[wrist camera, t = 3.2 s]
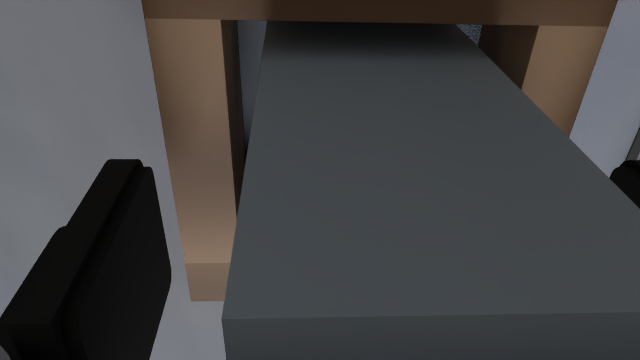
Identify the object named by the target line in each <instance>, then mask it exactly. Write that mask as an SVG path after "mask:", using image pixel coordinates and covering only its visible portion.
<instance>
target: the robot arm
mask: <svg viewBox="0 0 640 360" xmlns="http://www.w3.org/2000/svg"><path fill="white" fill-rule="evenodd" d="M609 179H610V180H611V181H612V182H613V183H614V184H615V185H616V186H617V187H618V188H619V189H620V190H621V191H622V192H623V193H624V194H625V195H626V196H627V197H628V198H629V199H630V200H631V201H632V202H633V203H634V204H635V205H636V206H637V207H638V208H639V209H640V160H627V161H624V162H623V163H622V164H621V165H620V167H617V168H615V169H614V170H613V172H612V173H611V176H610V178H609ZM170 284H171V266H170V260H169V255H168V249H167V244H166V239H165V233H164V228H163V222H162V217H161V212H160V206H159V201H158V195H157V190H156V185H155V179H154V174H153V170H152V168H151V167H143V164H142V162H141V161H140V160H139V159H110V160H107V162H106V163H105V164H104V166H103V168H102V169H101V171H100V172H99V174H98V176H97V177H96V179H95V180H94V182H93V184H92V185H91V187H90V188H89V190H88V192H87V193H86V195H85V197H84V198H83V200H82V201H81V203H80V205H79V206H78V208H77V209H76V211H75V213H74V214H73V216H72V217H71V219H70V221H69V222H68V224H67V225H66V226H63V227H61V228H59V229H58V230H57V231H56V232H55V233H54V235H53V236H52V238H51V239H50V241H49V242H48V244H47V246H46V247H45V249H44V250H43V252H42V253H41V255H40V256H39V258H38V260H37V261H36V263H35V264H34V266H33V267H32V269H31V270H30V272H29V274H28V275H27V277H26V278H25V280H24V281H23V283H22V284H21V286H20V288H19V289H18V291H17V292H16V294H15V295H14V297H13V298H12V300H11V302H10V303H9V305H8V306H7V308H6V309H5V311H4V312H3V314H2V316H1V317H0V360H149V358H150V355H151V351H152V348H153V344H154V341H155V337H156V334H157V330H158V327H159V323H160V320H161V316H162V313H163V309H164V306H165V303H166V299H167V296H168V292H169V289H170Z"/></svg>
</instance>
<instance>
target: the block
mask: <svg viewBox="0 0 640 360" xmlns="http://www.w3.org/2000/svg"><path fill="white" fill-rule="evenodd" d="M222 326H223V335H224V343H225V351H226V360H640V209H639V208H638V207H637V206H636V205H635V204H634V203H633V202H632V201H631V200H630V199H629V198H628V197H627V196H626V195H625V194H624V193H623V192H622V191H621V190H620V189H619V188H618V187H617V186H616V185H615V184H614V183H613V182H612V181H611V180H610V179H609V178H608V177H607V176H606V175H605V174H604V173H603V172H602V171H601V170H600V169H599V168H598V167H597V166H596V165H595V164H594V163H593V162H592V161H591V160H590V159H589V158H588V157H587V156H586V155H585V154H584V153H583V152H582V151H581V150H580V149H579V148H578V147H577V146H576V145H575V144H574V143H573V142H572V141H571V140H570V139H569V138H568V137H567V136H566V135H565V134H564V133H563V132H562V131H561V130H560V129H559V128H558V127H557V126H556V125H555V124H554V123H553V122H552V121H551V120H550V119H549V118H548V117H547V116H546V115H545V114H544V113H543V112H542V111H541V110H540V109H539V108H538V107H537V106H536V105H535V104H534V103H533V102H532V100H531V99H530V98H529V97H528V96H527V95H526V94H525V93H524V92H523V91H522V90H521V89H520V88H519V87H518V86H517V85H516V84H515V83H514V82H513V81H512V80H511V79H510V78H509V77H508V76H507V75H506V74H505V73H504V72H503V71H502V70H501V69H500V68H499V67H498V66H497V65H496V64H495V63H494V62H493V61H492V60H491V59H490V58H489V57H488V56H487V55H486V54H485V53H484V52H483V51H482V50H481V49H480V48H479V47H478V46H477V45H476V44H475V43H474V42H473V41H472V40H471V39H470V38H469V37H468V36H467V35H466V34H465V33H464V32H463V31H462V30H461V29H460V28H459V27H458V26H457V25H456V24H429V23H374V22H318V21H267V27H266V33H265V40H264V46H263V53H262V60H261V66H260V73H259V79H258V86H257V92H256V99H255V105H254V112H253V118H252V125H251V131H250V138H249V144H248V151H247V157H246V164H245V170H244V177H243V183H242V190H241V196H240V203H239V209H238V216H237V222H236V229H235V235H234V242H233V248H232V255H231V261H230V268H229V274H228V281H227V288H226V294H225V301H224V307H223V314H222Z"/></svg>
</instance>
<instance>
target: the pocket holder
mask: <svg viewBox="0 0 640 360" xmlns="http://www.w3.org/2000/svg"><path fill="white" fill-rule="evenodd" d="M141 1H142V7H143V13H144V19H145V25H146V31H147V37H148V43H149V49H150V55H151V61H152V67H153V73H154V79H155V85H156V91H157V97H158V103H159V109H160V116H161V122H162V128H163V134H164V140H165V146H166V152H167V158H168V164H169V170H170V176H171V182H172V188H173V194H174V200H175V206H176V212H177V218H178V224H179V230H180V236H181V242H182V249H183V255H184V261H185V267H186V273H187V279H188V285H189V291H190V297H191V301H225V294H226V288H227V281H228V274H229V268H230V261H231V255H232V248H233V242H234V235H235V229H236V222H237V216H238V209H239V203H240V196H241V190H242V183H243V177H244V170H245V164H246V157H245V141H244V125H243V109H242V93H241V77H240V61H239V45H238V28H237V20H263V21H318V22H374V23H429V24H483V28H482V33H481V38H480V42H479V48H480V49H481V50H482V51H483V52H484V53H485V54H486V55H487V56H488V57H489V58H490V59H491V60H492V61H493V62H494V63H495V64H496V65H497V66H498V67H499V68H500V69H501V70H502V71H503V72H504V73H505V74H506V75H507V76H508V77H509V78H510V79H511V80H512V81H513V82H514V83H515V84H516V85H517V86H518V87H519V88H520V89H521V90H522V91H523V92H524V93H525V94H526V95H527V96H528V97H529V98H530V99H531V100H532V102H533V103H534V104H535V105H536V106H537V107H538V108H539V109H540V110H541V111H542V112H543V113H544V114H545V115H546V116H547V117H548V118H549V119H550V120H551V121H552V122H553V123H554V124H555V125H556V126H557V127H558V128H559V129H560V130H561V131H562V132H563V133H564V134H565V135H566V136H567V137H568V138H569V136H570V133H571V130H572V127H573V125H574V122H575V119H576V116H577V113H578V111H579V108H580V105H581V102H582V99H583V97H584V94H585V91H586V88H587V85H588V83H589V80H590V77H591V74H592V71H593V69H594V66H595V63H596V60H597V57H598V55H599V52H600V49H601V46H602V43H603V40H604V38H605V35H606V32H607V29H608V26H609V24H610V21H611V18H612V15H613V12H614V10H615V7H616V4H617V1H618V0H141Z"/></svg>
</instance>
